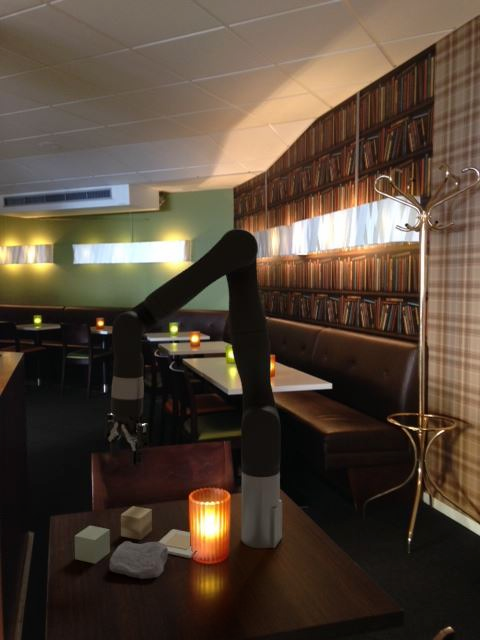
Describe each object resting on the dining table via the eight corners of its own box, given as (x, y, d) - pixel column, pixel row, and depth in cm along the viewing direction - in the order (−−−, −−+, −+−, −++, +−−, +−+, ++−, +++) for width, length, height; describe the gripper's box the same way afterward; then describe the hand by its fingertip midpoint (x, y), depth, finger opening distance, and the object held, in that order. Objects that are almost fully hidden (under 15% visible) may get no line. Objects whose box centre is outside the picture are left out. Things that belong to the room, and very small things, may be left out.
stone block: (159, 588, 111) (170, 555, 121) (157, 569, 110) (168, 537, 120) (105, 586, 113) (120, 554, 122) (102, 568, 111) (117, 536, 121)
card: (208, 538, 129) (208, 535, 129) (190, 558, 120) (190, 554, 120) (172, 531, 133) (172, 528, 132) (152, 550, 123) (152, 546, 123)
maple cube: (151, 530, 133) (151, 509, 133) (140, 540, 128) (140, 518, 128) (133, 526, 135) (133, 506, 135) (121, 536, 130) (120, 514, 130)
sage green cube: (109, 552, 122) (109, 529, 122) (95, 564, 117) (94, 540, 117) (90, 548, 124) (89, 525, 124) (75, 559, 119) (74, 535, 119)
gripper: (159, 397, 124) (156, 465, 125) (122, 387, 133) (120, 450, 135) (133, 402, 119) (130, 472, 120) (97, 391, 128) (94, 456, 129)
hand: (125, 460), depth 127 cm, fingers open, 8 cm apart
